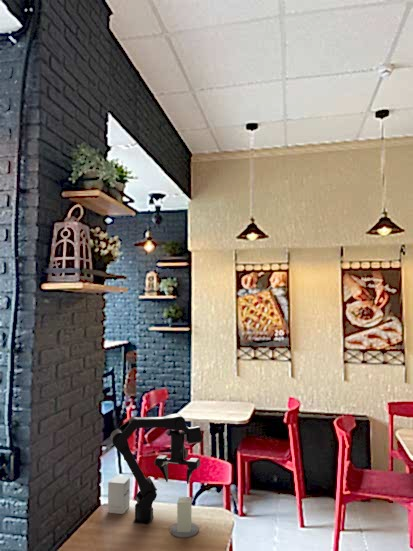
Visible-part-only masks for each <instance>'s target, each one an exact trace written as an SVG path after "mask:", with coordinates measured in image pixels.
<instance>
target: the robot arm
mask: <svg viewBox="0 0 413 551" xmlns="http://www.w3.org/2000/svg"><path fill="white" fill-rule="evenodd" d="M151 428H153V429H154V428H165V429H168V430H167V431H166V432H165V434H166V435H167V436H168V437H170V448H169V452H170V458H169V456H168V455H167V454H166V455H163V454H159V455H158V456H157V457H156V458H155V459H154V466H157V468H158V469H159V470H160V471H161V473H162V474H163V478H164V481H165V482H166V483H168V482H169V468H168V467H169V464H173V465H181V466H187V469H186V484H187V485H188V484H189V483H190V480H191V476H192V473H193V472H195V470H197V469H198V468H199V467H200V466H201V460H200V458H199V457H198V458H197V457H191V458H189V459H187V458H188V456H189V449H186V445H185V443H187V444H188V445H192V444H201V443H203V442H202V441H203V435H202V431H201V427H200V426H199V425H198V426H197V425H196V426H192V427H189V426H188V425H187V424H186V420H185V418H184V417H183V416H182V415H181V414H179V413H171V414H167V415H165V416H143V417H142V416H141V417H140V416H137V417H136V416H132V417H130V418H129V419H128V420H127V421H126V422H124V423H122V425H120V426H119V427H118V428H116V429H114V430H113V431H112V432H111V434H110V440H111V442H112V443H111V444H112V445H113V446H114V447H115V449H117V451H118V452H119V453H120V454H121V455H122V457H123V458H124V460H125V462H126V465H128V467H129V470H130V471H131V473H132V475H133V476H134V480H135V481H136V482H137V486H138V489H139V491H138V492H137V493H136V494H135V495H134V497H135V498H134V499H135V500H136V503H135V504H134V519H133V523H136V524H137V523H138V524H145V525H148V524H149V523H151V521H152V520H153V519H154V508H153V503H154V501H155V500H156V499H157V495H158V494H157V491H158V489H157V486H156V485H155V484H154V482H153V480H152V478H151V477H150V476H148V477H146V476H145V474H144V473H143V471H142V469H141V467H140V465H139V463H138V462H137V460H136V458H135V456H134V454H133V453H132V451H131V448H130V445H129V444H130V443H129V441H128V439H130V437H131V436H132V435H133V434H134V432H135V431H136V430H137V429H151Z"/></svg>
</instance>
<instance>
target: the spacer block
mask: <svg viewBox="0 0 413 551" xmlns="http://www.w3.org/2000/svg"><path fill="white" fill-rule="evenodd" d="M176 503H177V506H176V508H177V509H176V514H177V515H176V516H177V517H176V520H177V523H176V524H177V532H190V531H191V523H192V497H191V496H179V497H178V499H177V502H176Z"/></svg>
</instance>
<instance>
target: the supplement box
mask: <svg viewBox="0 0 413 551" xmlns="http://www.w3.org/2000/svg"><path fill="white" fill-rule="evenodd" d="M130 478H131V477H128V476H114V477H112V478H111V480H110V481H109V482H108V483H107V484H108V485H107V488H108V490H107V495H108V496H107V513H110V514H120V515H124V514H125V513H126V511H127V510H128V509H129V508H130V502H131V500H130V499H131V498H130V495H131V493H130V492H131V488H130V487H131V486H130V484H131V479H130Z"/></svg>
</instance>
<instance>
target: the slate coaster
mask: <svg viewBox="0 0 413 551" xmlns="http://www.w3.org/2000/svg"><path fill="white" fill-rule="evenodd" d="M169 529H170V534H171V535H172V536H174V537H177V538H181V539H182V538H184V539H185V538H192V537H194V536H197V534H198V533H199V530H200V529H199V526H198V525H197V524H195V523H193V522H191V531H190V532H177V523H175V524H173V525H172V526H171V527H170V528H169Z"/></svg>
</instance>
